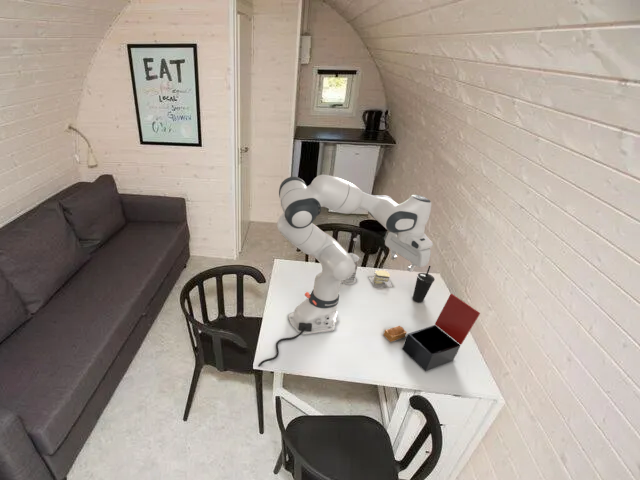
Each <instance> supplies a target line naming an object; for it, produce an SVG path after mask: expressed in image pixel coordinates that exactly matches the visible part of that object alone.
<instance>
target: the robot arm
mask: <svg viewBox="0 0 640 480" xmlns="http://www.w3.org/2000/svg"><path fill="white" fill-rule="evenodd" d="M278 197H279V202H280V207H281V209H282V211H283V213H282V214H281V215H280V216H279V217H278V219H277V222H276V228H277V231H278V232H279V233H280V234H281V236H283V237H284V239H286V241H288V242H289V243H290V244H292V245H293V246H294V247H295V248H297V249H298V250H300V251H301V252H302V253H304V254H306V255H309V256H312V257H313V258H315V259H316V260H317V261H318V263H320V265H321V268H322V269H321V271H320V272H319V273H317V274H316V276H315V278H314V284H313V289H312V290H311V292H309V291H305V293H304V296H305V297H306V299H305V300H304V301H302V302H301V303H300V304H298V305H296V307H295V309H294V311H293V312H290V313H289V314H288V321H289V323H290V325H291V326H292V327H293V329H294V330H295V331H297V333H298V334H296V335H295V336H292V337H283V338H280V339H279V340H277V341H276V343H275V349H276V350H275V351H276V354H275V356H273V357H270V358H266V359H264V360H262V361H260V362H259V364H257V367H258V368H260V367H261V366H262V365H263V364H265V363H266V362H270V361H271V362H272V361H274V360H276V359H277V358H278V357H279V353H280V350H279V344H280V343H281V342H283V341H291V340H295V339H297V338H299V337H300V336H301V335H310V334H319V333H326V332H333V331H335V329H336V325H337V323H338V311H337V309H338V304H339V300H340V290H341V286H342V284H343V283H342V281H343V280H345V279H347V278H349V277H350V276H351V275H352V274H353V273H354V271H355V263H354V261H353V259H352V257H351V256H350V255H349V254H348V253H349V252H348V251H347V250H346V249H345V248H344V247H343V245H341V244H340V243H339V241H337V240H336V239H335V238H334V237H332V236H331V235H330V234H328V233H327V232H324V231H323V230H322V229H321V228H320V227H318V226H317V225H316V224H314V223H313V222H314V221H315V220H316V218H317V216H319V215H320V214H321V212H322V208H326V209H328V210H330V211H331V210H332V211H334V212H336V213H338V214H339V213H340V214H344V215H349V214H352V213H354V212H356V210H358V209H360V210H363V211H366V212H368V213H369V215H370V216H371V217H372V218H373V219H374V220H376V221H377V222H378V223H379V224H380V225H381V226H382V227H383V228H385V230H387V231H388V233H387V235H386V237H385V241H384V245H385V247H387V248H389V250H390V255H391V256H390V259H391V260H392V261H396V260H397V259H398V256H397V255H399V256H400V257H402V258H403V259H405V260H406V261H408V262H410V263H411V264H410V266H407V271H408V272H410V273H412V272H414V269H415V268H416V267H417V268H425V267H426V266H428V265H429V262H430V258H431V254H432V250H431V248H433V246H434V242H433V241H432V240H431V239H430V238H429V237H428V236H427V234H426V233H425V232H426V225H427V224H428V223H429V218H430V216H431V211H432V201H431V200H430V199H429V198H427V197H425V196H423V195H420V194H411V195H410V197H409V198H408V199H406V200H404V201H403V202H401V203H397V202H396V201H395V200H394V199H393V198H392V196H390V195H386V194H381V195H374V194H370V193H368V192H366V191H363V190H362V189H361V188H359V187H358V186H357V185H355V184H354V183H352V182H350V181H349V180H348V181H347V180H345V179H343V178H340V177H338V176H335V175H329V174H319V175H316V177H314V178H313V180H312V181H311V183H310V184H309V185H307V183H306V182H305V181H304V180H303V179H302V178H300V177H298V176H289V177H287V178H284V180H283V181H282V182H281V183H280V185H279V189H278Z"/></svg>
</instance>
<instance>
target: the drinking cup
mask: <svg viewBox="0 0 640 480" xmlns="http://www.w3.org/2000/svg"><path fill="white" fill-rule="evenodd" d="M430 269H431V265H429V266H428V267H427V270H426V272H419V273H417V274H416V281H415V286H414V290H413V296H412V301H413V302H415V303H419V304H421V303H423V302H424V301H425V298H426V296H427V294H428V293H429V290H430V289H431V287H432V284H433V283H434V282H435V277H434V276H433V275H431V274H429V272H430Z"/></svg>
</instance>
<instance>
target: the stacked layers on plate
mask: <svg viewBox="0 0 640 480" xmlns="http://www.w3.org/2000/svg"><path fill="white" fill-rule="evenodd" d="M390 276H391V273H389V272H388V271H387V270H384V269H381V270H380V269H379V270H374V275H373V276H369V277H368V279H369V281H370V282H371V284H372V286H373V288H393V287H394V286H393V285H392V283H391V281H390V278H391V277H390Z"/></svg>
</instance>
